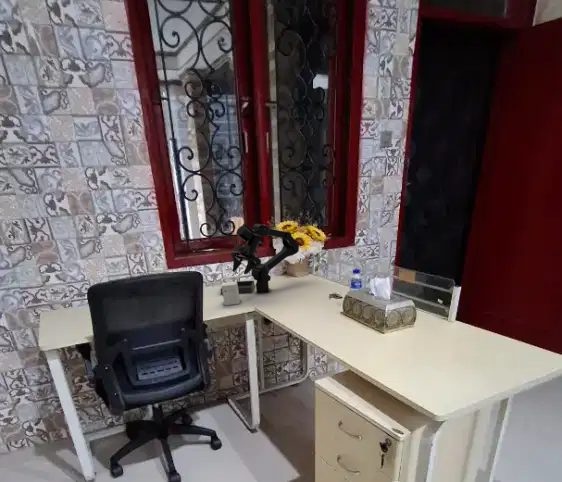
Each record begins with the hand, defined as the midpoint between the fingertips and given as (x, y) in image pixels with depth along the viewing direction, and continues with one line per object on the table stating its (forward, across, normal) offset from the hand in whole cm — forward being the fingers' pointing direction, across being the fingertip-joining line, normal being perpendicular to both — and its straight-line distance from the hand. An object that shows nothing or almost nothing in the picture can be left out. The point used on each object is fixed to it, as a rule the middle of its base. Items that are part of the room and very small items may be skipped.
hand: (238, 272), depth 216 cm
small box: (+15, 0, +4) cm, 16 cm away
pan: (+4, -14, +16) cm, 22 cm away
